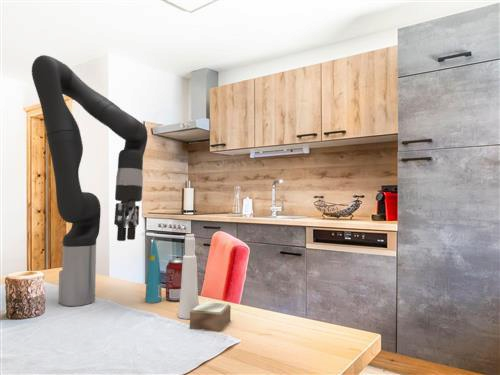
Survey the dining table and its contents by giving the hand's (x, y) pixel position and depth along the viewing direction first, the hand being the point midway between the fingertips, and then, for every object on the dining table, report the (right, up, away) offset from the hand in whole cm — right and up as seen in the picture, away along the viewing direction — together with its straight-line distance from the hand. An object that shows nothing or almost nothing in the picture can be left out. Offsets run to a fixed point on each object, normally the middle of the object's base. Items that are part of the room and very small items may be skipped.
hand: (126, 240), depth 107 cm
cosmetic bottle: (+19, -20, -7) cm, 29 cm away
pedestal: (+26, -19, -14) cm, 35 cm away
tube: (+6, -20, +6) cm, 22 cm away
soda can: (+13, -20, +9) cm, 25 cm away
